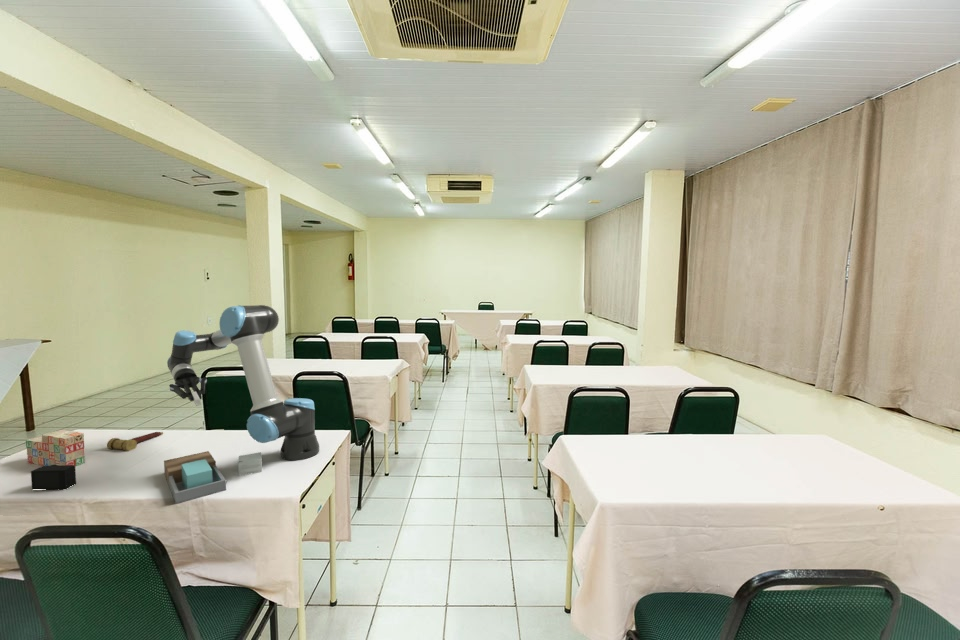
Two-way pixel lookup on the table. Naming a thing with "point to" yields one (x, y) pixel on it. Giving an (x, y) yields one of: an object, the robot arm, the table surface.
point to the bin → (197, 488)
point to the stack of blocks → (57, 449)
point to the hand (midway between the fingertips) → (198, 402)
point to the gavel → (130, 441)
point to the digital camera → (53, 477)
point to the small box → (250, 463)
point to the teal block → (196, 474)
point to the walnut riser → (175, 465)
